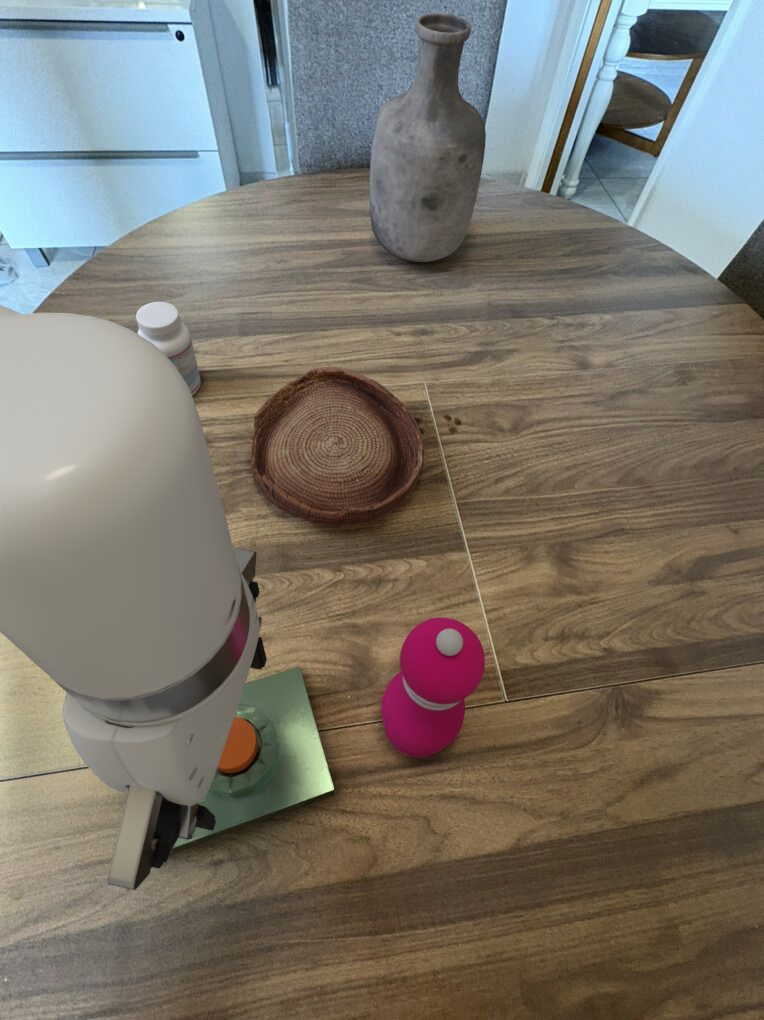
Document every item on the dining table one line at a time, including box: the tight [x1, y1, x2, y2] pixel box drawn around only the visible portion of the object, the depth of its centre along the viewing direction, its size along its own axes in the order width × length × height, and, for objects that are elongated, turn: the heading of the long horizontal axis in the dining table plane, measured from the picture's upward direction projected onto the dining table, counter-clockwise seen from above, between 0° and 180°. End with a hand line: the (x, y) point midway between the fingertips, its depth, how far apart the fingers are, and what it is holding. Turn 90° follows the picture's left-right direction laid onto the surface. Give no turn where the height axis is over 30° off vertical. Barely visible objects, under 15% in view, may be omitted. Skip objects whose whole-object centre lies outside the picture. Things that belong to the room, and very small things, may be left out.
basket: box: [250, 366, 425, 528], centre depth 71 cm, size 22×20×5 cm
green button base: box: [163, 666, 336, 857], centre depth 52 cm, size 14×11×4 cm
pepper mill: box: [380, 616, 486, 759], centre depth 48 cm, size 7×7×20 cm
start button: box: [217, 717, 258, 773], centre depth 50 cm, size 4×4×2 cm
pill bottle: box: [135, 301, 202, 397], centre depth 74 cm, size 6×6×11 cm
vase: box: [369, 12, 487, 263], centre depth 87 cm, size 16×16×30 cm
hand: (217, 734), depth 38 cm, fingers open, 9 cm apart
